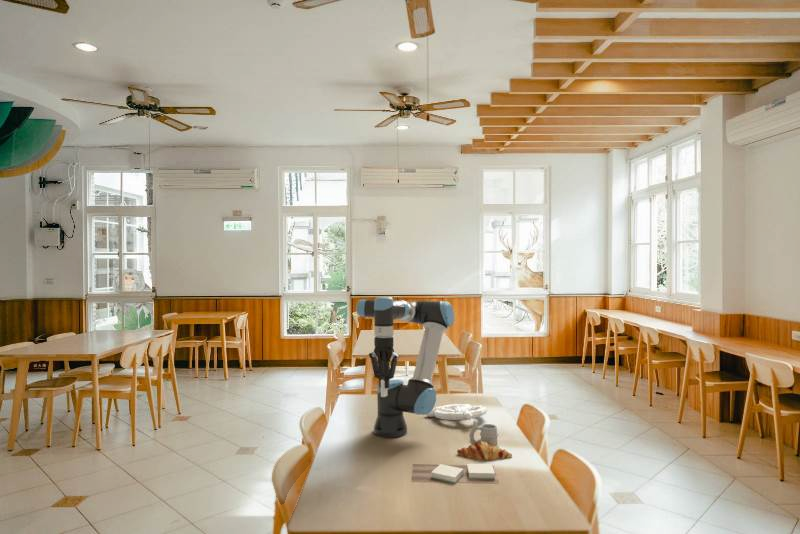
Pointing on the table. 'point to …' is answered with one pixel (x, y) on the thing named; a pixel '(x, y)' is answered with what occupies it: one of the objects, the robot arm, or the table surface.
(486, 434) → the mug
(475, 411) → the white flat coiled piece
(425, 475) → the board
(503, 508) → the table surface
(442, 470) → the tile
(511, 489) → the table surface
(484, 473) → the tile
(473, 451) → the croissant
